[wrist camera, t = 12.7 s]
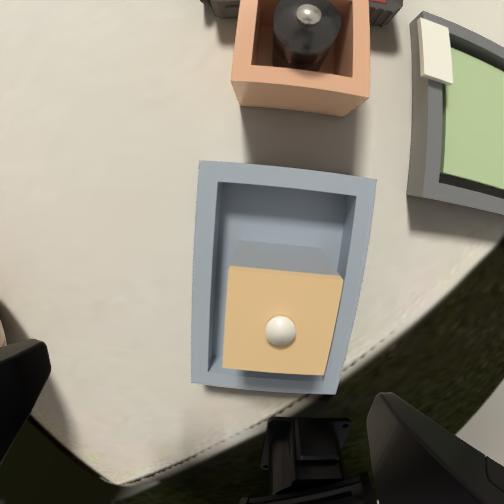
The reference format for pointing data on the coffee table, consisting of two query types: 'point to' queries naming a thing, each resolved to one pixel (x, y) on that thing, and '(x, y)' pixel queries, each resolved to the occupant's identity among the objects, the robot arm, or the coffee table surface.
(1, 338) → the ornament
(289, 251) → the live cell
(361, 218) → the tray
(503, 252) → the coffee table surface
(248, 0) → the cup
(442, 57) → the checker frame
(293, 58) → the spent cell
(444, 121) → the light green square plate
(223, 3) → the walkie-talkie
